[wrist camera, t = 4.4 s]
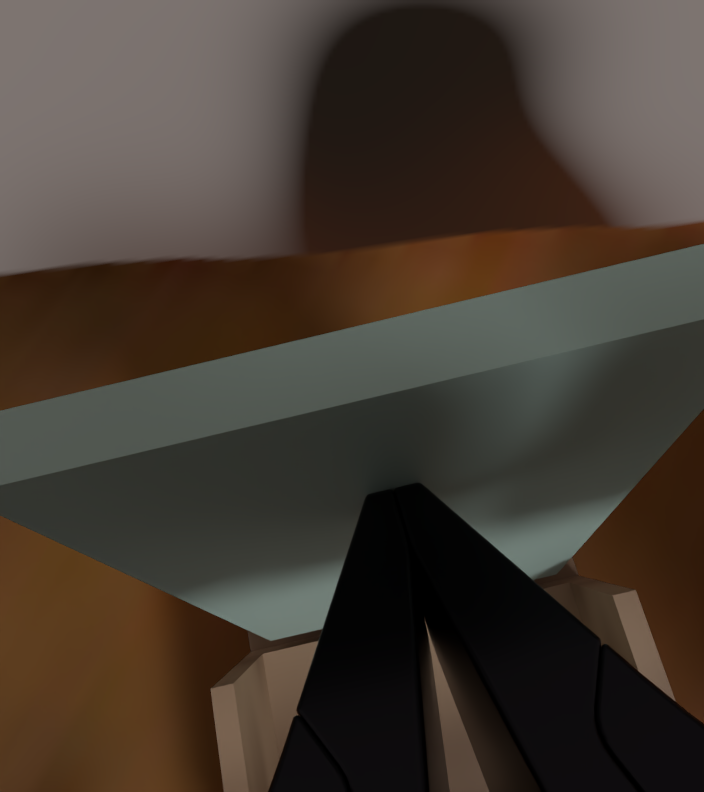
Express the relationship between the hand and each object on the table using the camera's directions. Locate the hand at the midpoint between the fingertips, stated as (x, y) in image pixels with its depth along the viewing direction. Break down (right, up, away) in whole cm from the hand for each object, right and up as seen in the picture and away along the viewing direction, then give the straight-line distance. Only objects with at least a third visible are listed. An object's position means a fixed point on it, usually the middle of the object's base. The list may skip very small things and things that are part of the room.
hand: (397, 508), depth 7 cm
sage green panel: (+1, -4, +8) cm, 9 cm away
